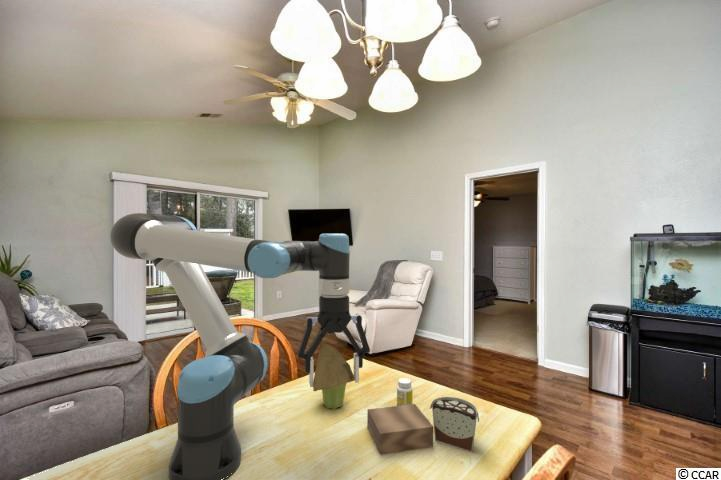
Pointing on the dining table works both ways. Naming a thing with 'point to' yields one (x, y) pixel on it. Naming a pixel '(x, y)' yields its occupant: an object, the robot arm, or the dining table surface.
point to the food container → (454, 422)
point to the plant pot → (334, 396)
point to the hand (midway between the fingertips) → (334, 382)
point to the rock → (331, 369)
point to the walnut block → (399, 428)
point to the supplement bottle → (404, 392)
